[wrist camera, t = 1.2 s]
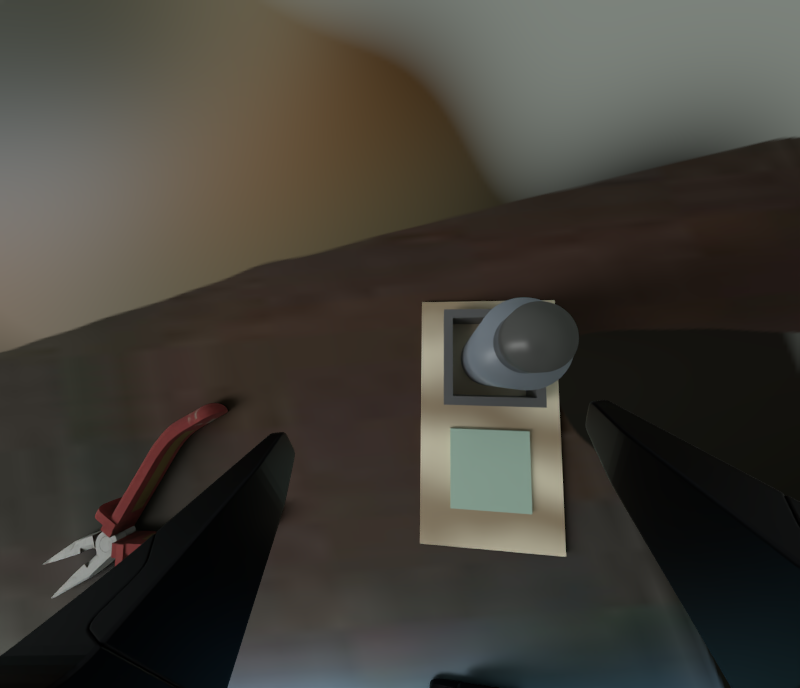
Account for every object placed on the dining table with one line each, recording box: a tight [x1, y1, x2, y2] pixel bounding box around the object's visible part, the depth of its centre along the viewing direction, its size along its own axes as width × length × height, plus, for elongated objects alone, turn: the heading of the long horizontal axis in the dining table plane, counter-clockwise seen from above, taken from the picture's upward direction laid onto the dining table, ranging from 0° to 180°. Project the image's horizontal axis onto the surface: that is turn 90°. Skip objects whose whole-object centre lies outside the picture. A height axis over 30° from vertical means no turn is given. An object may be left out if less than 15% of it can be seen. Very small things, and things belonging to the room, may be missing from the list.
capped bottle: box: [461, 297, 579, 390], centre depth 17 cm, size 4×4×12 cm
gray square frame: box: [444, 309, 547, 408], centre depth 21 cm, size 7×7×2 cm
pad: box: [450, 428, 532, 514], centre depth 21 cm, size 6×6×1 cm
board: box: [420, 300, 566, 557], centre depth 22 cm, size 18×10×1 cm, turn 179°
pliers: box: [43, 403, 228, 598], centre depth 24 cm, size 12×20×3 cm, turn 121°
